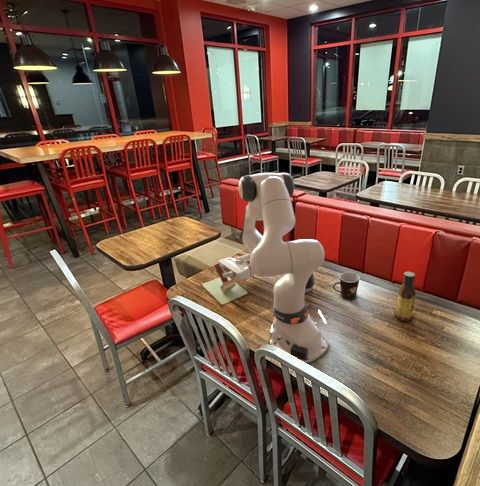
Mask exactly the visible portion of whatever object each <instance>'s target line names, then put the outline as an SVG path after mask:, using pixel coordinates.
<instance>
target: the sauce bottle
mask: <svg viewBox="0 0 480 486" xmlns="http://www.w3.org/2000/svg"><path fill="white" fill-rule="evenodd" d="M415 279H416V274H415V272H412V271H405V272H404V273H403V281H402V284H401V285H400V287H399V289H398V294H397V301H396V309H395V317H396V318H397V319H398V320H400V321H402V322H409V321H411V320H412V318H413V314H414V310H415V309H414V308H415V302H416V294H417V291H416V288H415Z"/></svg>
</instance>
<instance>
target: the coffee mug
mask: <svg viewBox="0 0 480 486" xmlns="http://www.w3.org/2000/svg"><path fill="white" fill-rule="evenodd" d="M360 280H361V277H360V275H359V274H357V273H356V272H352V271H345V272H342V273H340V274H339V281H337V282H334V284H333V286H332V288H333V289H334V291H335V292H338V293H340V297H341V298H342V299H344V300H345V301H353V300H356V298H357V293H358V288H359V283H360ZM336 285H340V290H338V289H336V288H335V287H336Z"/></svg>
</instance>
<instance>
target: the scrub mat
mask: <svg viewBox="0 0 480 486" xmlns="http://www.w3.org/2000/svg"><path fill="white" fill-rule="evenodd" d="M227 279H228V281H229V280H231V279H232V277H227ZM234 282H235V284H236V285H235V286H234V288H233V289H232V290H230V291H227V292H225V293H222V291H221V289H220V287H221V285H222V284H223V282H222V280H221V278H220V276H219V277H217V278H214V279H212V280H211V279H210V280H209V281H206V282H203V283H201V286H202V287H203V288H204V289H205V290H206V291H207V292H208V293H209V294H210V295H211V296H212V297H213V298H214V299H215V300H216V301H217V302H218V303H219V304H220V305H225V304H227V303H229V302H231V301H234V300H236V299H238V298H241V297H243V296H246V295H247V294H249V292H248V291H247V290H246V289H244V288H243V287H242V286H240V285H239V284H238V283H237V282H236V281H234Z"/></svg>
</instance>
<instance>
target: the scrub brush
mask: <svg viewBox="0 0 480 486" xmlns="http://www.w3.org/2000/svg"><path fill="white" fill-rule="evenodd" d="M214 268H215V269H216V270H217V272H218V273H217V272H216V273H217V274H218V276H219V277H220V278H221V280H222V282H223V284H222V285H221V287H220V289H221V291H222V293H225V292H227V291H230V290H232V289H233V288H234V286H235V285H236V284H235V282H236V281H235V280H234V278H231V280H229V281H228V279H227V277H225V278H224V277H222V273H225V271H224V270H223V269H222V267H221V265H220V263H218V262H217V263H216V264H215V265H214Z"/></svg>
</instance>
